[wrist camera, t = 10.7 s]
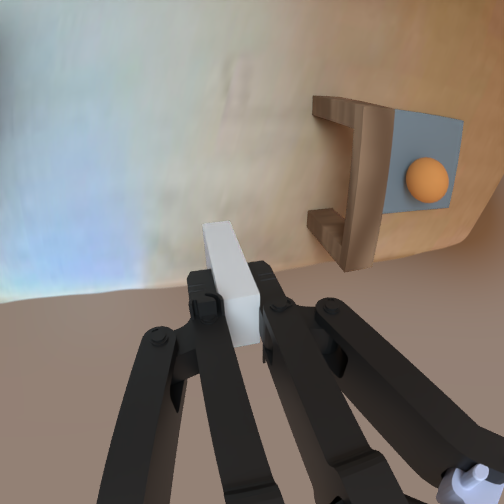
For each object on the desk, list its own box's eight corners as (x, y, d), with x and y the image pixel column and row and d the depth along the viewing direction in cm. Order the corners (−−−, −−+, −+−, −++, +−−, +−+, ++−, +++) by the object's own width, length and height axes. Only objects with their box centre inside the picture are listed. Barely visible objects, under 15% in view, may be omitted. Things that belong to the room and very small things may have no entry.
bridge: (306, 226, 35) (344, 272, 28) (312, 95, 28) (363, 105, 20) (330, 224, 36) (371, 267, 28) (339, 97, 28) (395, 109, 21)
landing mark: (380, 213, 37) (381, 213, 37) (392, 109, 30) (393, 109, 30) (447, 206, 39) (448, 207, 39) (462, 120, 33) (463, 120, 32)
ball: (439, 200, 35) (400, 190, 37) (447, 159, 33) (407, 149, 34) (446, 214, 31) (403, 203, 33) (457, 168, 28) (412, 156, 30)
